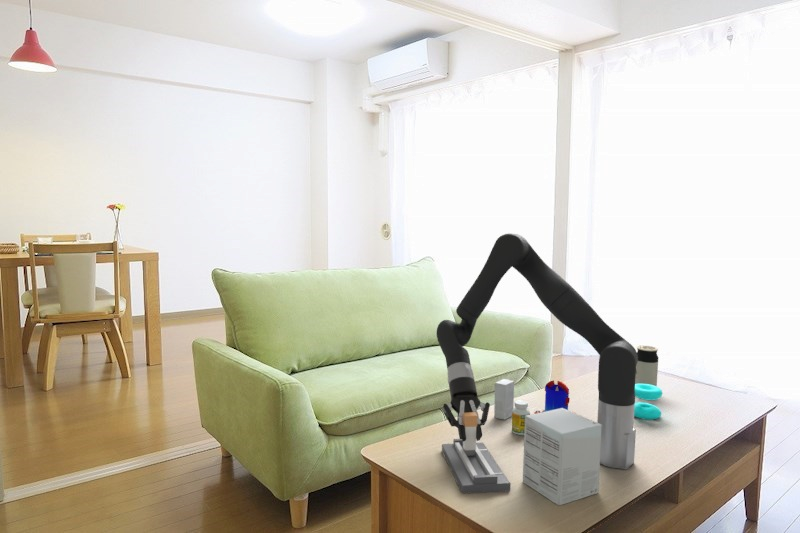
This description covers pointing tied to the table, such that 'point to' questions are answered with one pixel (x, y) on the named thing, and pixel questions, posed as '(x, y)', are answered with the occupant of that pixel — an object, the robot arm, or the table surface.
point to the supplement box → (562, 455)
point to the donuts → (647, 409)
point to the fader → (470, 432)
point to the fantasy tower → (556, 396)
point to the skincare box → (504, 399)
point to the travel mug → (647, 365)
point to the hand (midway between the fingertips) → (471, 439)
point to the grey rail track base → (475, 469)
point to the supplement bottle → (519, 417)
